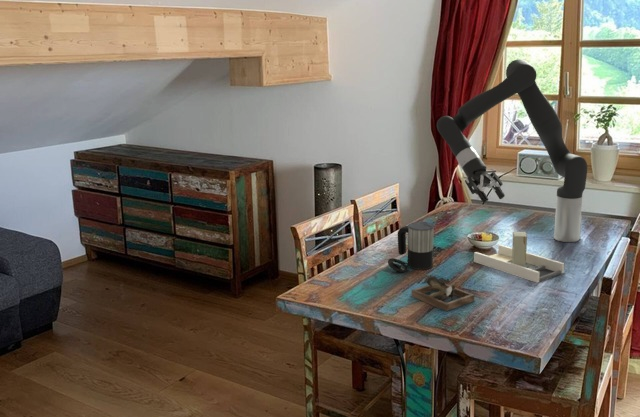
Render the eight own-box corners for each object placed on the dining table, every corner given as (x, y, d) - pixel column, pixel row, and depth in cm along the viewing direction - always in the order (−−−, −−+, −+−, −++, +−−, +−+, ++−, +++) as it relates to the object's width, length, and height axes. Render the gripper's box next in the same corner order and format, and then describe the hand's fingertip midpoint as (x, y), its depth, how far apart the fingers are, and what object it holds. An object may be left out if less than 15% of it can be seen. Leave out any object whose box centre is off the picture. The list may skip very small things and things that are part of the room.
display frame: (438, 287, 219) (439, 281, 219) (474, 301, 207) (474, 294, 207) (411, 296, 213) (411, 290, 212) (446, 311, 201) (446, 304, 200)
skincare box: (525, 271, 231) (527, 236, 228) (512, 270, 232) (514, 236, 229) (524, 264, 237) (525, 231, 234) (511, 264, 238) (512, 231, 235)
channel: (499, 253, 250) (500, 244, 249) (563, 273, 228) (564, 263, 227) (473, 261, 242) (474, 252, 241) (537, 282, 220) (537, 272, 220)
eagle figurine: (454, 290, 214) (425, 283, 215) (457, 277, 208) (428, 270, 209) (450, 310, 209) (421, 303, 210) (454, 297, 203) (424, 290, 205)
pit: (543, 268, 233) (543, 265, 233) (560, 274, 227) (561, 270, 227) (522, 275, 227) (522, 272, 226) (540, 281, 221) (540, 278, 221)
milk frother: (436, 263, 242) (437, 223, 238) (424, 277, 228) (424, 235, 224) (398, 258, 248) (398, 219, 244) (384, 272, 234) (383, 231, 230)
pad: (497, 254, 249) (497, 253, 249) (514, 259, 242) (514, 258, 242) (476, 260, 243) (476, 259, 243) (494, 266, 236) (494, 265, 236)
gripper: (463, 159, 237) (487, 196, 231) (490, 154, 245) (514, 190, 239) (451, 171, 243) (474, 208, 237) (478, 166, 251) (501, 202, 245)
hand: (494, 199), depth 238 cm, fingers open, 8 cm apart
